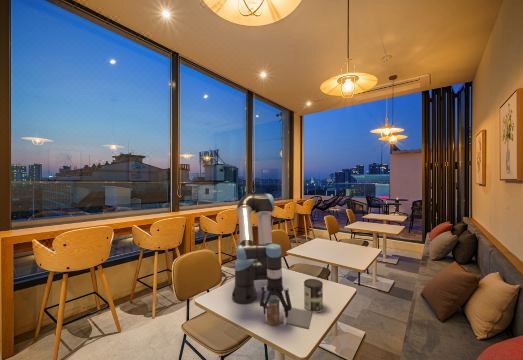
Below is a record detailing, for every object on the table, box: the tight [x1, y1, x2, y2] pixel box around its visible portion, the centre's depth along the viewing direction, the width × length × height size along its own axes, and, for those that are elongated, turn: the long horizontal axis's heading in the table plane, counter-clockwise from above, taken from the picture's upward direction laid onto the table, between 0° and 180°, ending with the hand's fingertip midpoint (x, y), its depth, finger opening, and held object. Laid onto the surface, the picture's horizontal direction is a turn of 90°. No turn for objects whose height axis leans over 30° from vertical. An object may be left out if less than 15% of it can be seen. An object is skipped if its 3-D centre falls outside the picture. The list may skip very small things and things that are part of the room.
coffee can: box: [303, 278, 324, 314], centre depth 129 cm, size 10×10×14 cm
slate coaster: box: [279, 307, 313, 330], centre depth 120 cm, size 14×14×1 cm
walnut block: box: [267, 297, 280, 327], centre depth 115 cm, size 4×4×11 cm
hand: (276, 321), depth 115 cm, fingers open, 8 cm apart
